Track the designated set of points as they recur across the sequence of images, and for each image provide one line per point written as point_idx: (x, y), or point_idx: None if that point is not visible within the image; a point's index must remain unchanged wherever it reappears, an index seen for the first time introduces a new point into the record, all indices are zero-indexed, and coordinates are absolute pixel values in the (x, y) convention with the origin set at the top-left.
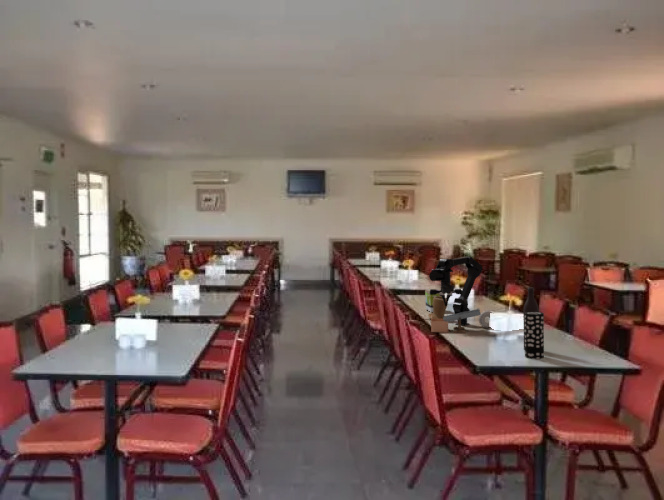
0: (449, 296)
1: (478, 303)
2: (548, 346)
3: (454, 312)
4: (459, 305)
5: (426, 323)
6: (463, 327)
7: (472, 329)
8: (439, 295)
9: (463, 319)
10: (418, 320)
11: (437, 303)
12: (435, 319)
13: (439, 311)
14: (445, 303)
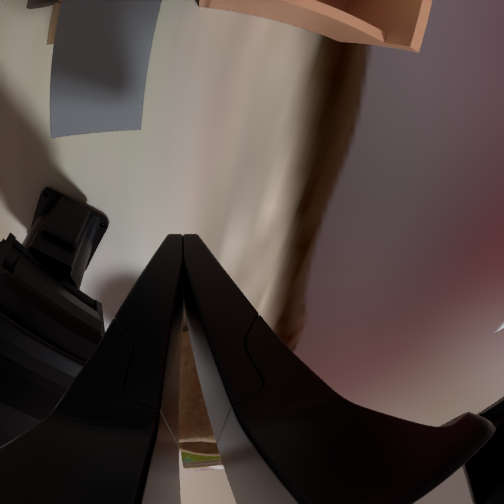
0: (29, 459)
1: None
2: None
3: (100, 310)
4: (11, 315)
5: (290, 271)
6: (59, 9)
7: (10, 19)
8: (195, 457)
9: (39, 227)
10: (295, 333)
11: None
12: (353, 16)
13: None
14: (197, 269)
